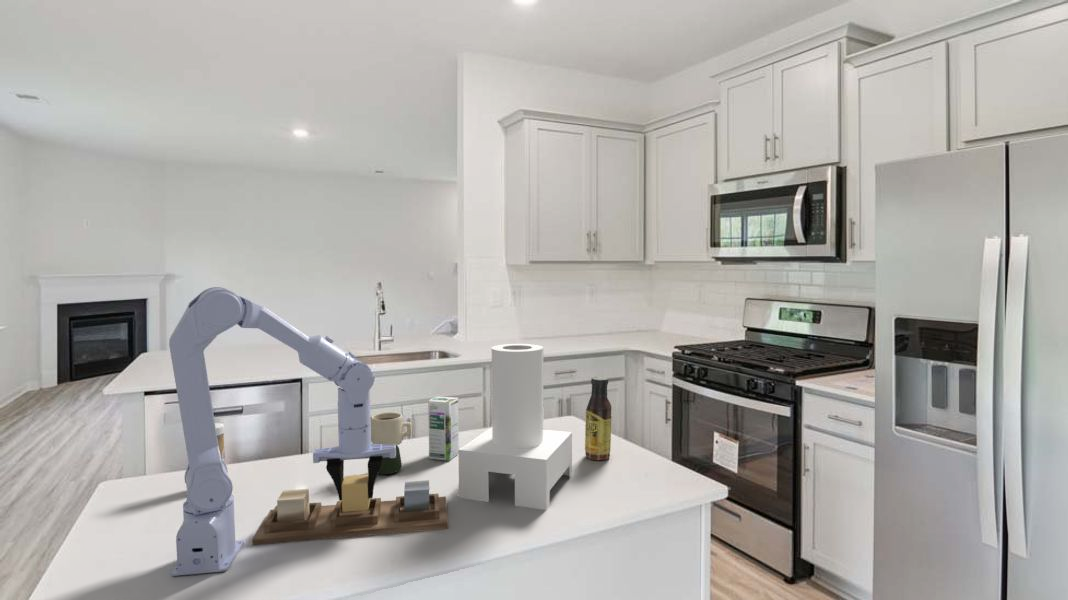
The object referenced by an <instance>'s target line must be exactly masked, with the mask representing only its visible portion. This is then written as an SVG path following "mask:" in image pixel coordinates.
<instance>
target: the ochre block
mask: <svg viewBox="0 0 1068 600" xmlns="http://www.w3.org/2000/svg"><path fill="white" fill-rule="evenodd" d="M368 486H369V478H368V474H356V475H355V474H353V475H344V480H343V483H342V500H341V501H342V512H349V511H362V510H368V508H369V504H370V499H371V498H368Z"/></svg>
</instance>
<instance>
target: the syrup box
mask: <svg viewBox="0 0 1068 600" xmlns="http://www.w3.org/2000/svg"><path fill="white" fill-rule="evenodd" d="M427 403H428V404H427V405H428V406H427V408H428V409H427V411H428V412H427V413H428V415H427V416H428V417H427V418H428V459H429V460H438V461H448V462H450V461H452V460H453V459H454V458H455V457H457V456H459V452H458V450H459V449H460V448H459V447H460V446H459V445H460V444H459V443H460V442H459V441H460V440H459V439H460V437H459V435H460V434H459V432H460V431H459V429H460V428H459V397H451V396H450V397H448V396H435V397H432V398H431V399H429V400H428V401H427Z"/></svg>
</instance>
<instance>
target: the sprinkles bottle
mask: <svg viewBox="0 0 1068 600" xmlns="http://www.w3.org/2000/svg"><path fill="white" fill-rule="evenodd" d="M215 427H216V434H217V440H218V446H219V451H220V456H221V460H222V461H223V462H224V463H225V464H226V454H225V440H224V439H225V438H224V435H225V425H224V424H223V423H222V422H221V423H220V422H215Z"/></svg>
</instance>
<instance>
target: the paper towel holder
mask: <svg viewBox="0 0 1068 600" xmlns="http://www.w3.org/2000/svg"><path fill="white" fill-rule="evenodd" d="M491 418H492V419H491V420H492V421H491V427H489V428H488V429H486V430H485V431H484V432H481V434H479V435H477V436H476V437H475V438H474V439H473V438H472V440H470V441H469V442H467V443H466V444H465V445H463V446H462V447H460V448H459V450H458V452H459V454H458V498H460V499H466V500H473V501H481V502H487V503H489V502H490V500H489V499H490V496H489V489H490V487H489V473H497V474H506V475H514V506H515V507H524V508H531V509H536V510H542V511H543V510H544V511H547V510H548V509H549V507H550V498H551V497H550V494H551V493H550V491H551V489H552V488H553V487H554V486H555V484H556V483H558V481H559V480H560V479H561V477H562V476H567V477H568V476H569V479H571V478H572V476H573V432H572V431H563V430H554V429H552V430H550V429H544V428H545V427H544V426H545V425H544V346H542V345H539V344H532V343H531V344H530V343H505V344H504V343H503V344H497V345H493V346H491Z"/></svg>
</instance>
